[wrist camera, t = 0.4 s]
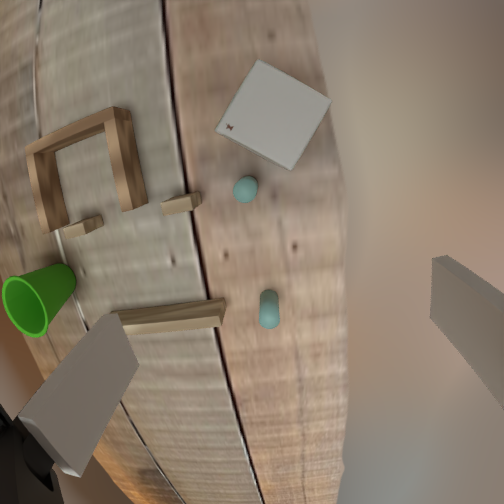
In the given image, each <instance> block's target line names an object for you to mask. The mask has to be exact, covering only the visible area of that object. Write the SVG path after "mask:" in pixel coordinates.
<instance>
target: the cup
mask: <svg viewBox="0 0 504 504" xmlns="http://www.w3.org/2000/svg"><path fill="white" fill-rule="evenodd" d="M75 286H76V278H75V275H74V273H73V271H72V270H71V269H70V268H69V267H68V266H67V265H65V264H59V263H58V264H54V265H51V266H48V267H45V268H42V269H39V270H36V271H33V272H30V273H27V274H24V275H21V276H10V277H9V278H7V279H6V281H5V283H4V285H3V289H2V299H3V304H4V307H5V309H6V312H7V314H8V316H9V318H10V319H11V321H12V322H13V324H14V325H15V326H16V327H17V328H18V329H19V330H20V331H21V332H22V333H24V334H26V335H27V336H30V337H41V336H43V335H44V334H45V333H46V332H47V329H48V325H49V324H50V322H51V321H52V320H53V318H54V317H55V315H56V314H57V313H58V311H59V310H60V309H61V307H62V306H63V305H64V303H65V302H66V301H67V299H68V298H69V297H70V295H71V294H72V293H73V291H74V289H75Z"/></svg>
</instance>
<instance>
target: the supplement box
mask: <svg viewBox="0 0 504 504" xmlns="http://www.w3.org/2000/svg"><path fill="white" fill-rule="evenodd" d="M331 103H332V100H331V99H329V98H327V97H326V96H324V95H322V94H321V93H319V92H317V91H316V90H314V89H312V88H311V87H309V86H307V85H305V84H304V83H302V82H300V81H299V80H297V79H295V78H293V77H292V76H290V75H288V74H286V73H285V72H283V71H281V70H279V69H277V68H275V67H273V66H272V65H270V64H268V63H266V62H264V61H262V60H260V59H258V60H257V61H256V62H255V63H254V65H253V66H252V68H251V70H250V71H249V73H248V75H247V76H246V78H245V79H244V81H243V83H242V84H241V86H240V88H239V89H238V91H237V92H236V94H235V95H234V97H233V99H232V101H231V103H230V104H229V106H228V108H227V110H226V111H225V113H224V115H223V116H222V118H221V120H220V122H219V123H218V125H217V127H216V128H215V132H217V133H218V134H220V135H222V136H224V137H226V138H227V139H229V140H231V141H233V142H235V143H237V144H238V145H240V146H242V147H244V148H246V149H248V150H249V151H251V152H253V153H255V154H257V155H258V156H260V157H262V158H264V159H266V160H268V161H270V162H272V163H274V164H276V165H278V166H280V167H282V168H284V169H287V170H290V171H292V169H293V168H294V166H295V165H296V163H297V162H298V160H299V158H300V157H301V155H302V153H303V152H304V150H305V148H306V147H307V145H308V143H309V142H310V140H311V138H312V136H313V135H314V133H315V131H316V130H317V128H318V126H319V124H320V123H321V121H322V119H323V117H324V116H325V114H326V112H327V110H328V109H329V107H330V105H331Z"/></svg>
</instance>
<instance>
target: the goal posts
mask: <svg viewBox="0 0 504 504" xmlns="http://www.w3.org/2000/svg"><path fill="white" fill-rule="evenodd" d="M257 189H258V183H257V181H256V179H255V178H253V177H251V176H245V177H243V178H241V179H240V180H239V181H238V182H237V183H236V184H235V186H234V188H233V194H234V197H235V198H236V199H237V200H238V201H239V202H242V203H248V202H250V201H252V200H253V199H254V198H255V196H256V193H257ZM279 322H280V317H279V304H278V295H277V293H276V292H275V291H273V290H265V291H264V292H262V294H261V295H260V311H259V323H260V325H261V326H262V327H264V328H266V329H272V328H275V327H276V326H277V325H278V324H279Z"/></svg>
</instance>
